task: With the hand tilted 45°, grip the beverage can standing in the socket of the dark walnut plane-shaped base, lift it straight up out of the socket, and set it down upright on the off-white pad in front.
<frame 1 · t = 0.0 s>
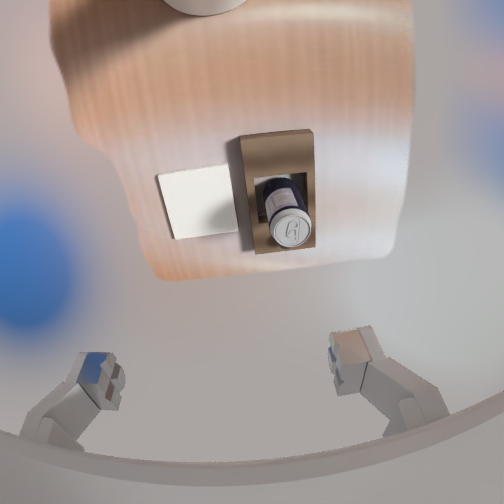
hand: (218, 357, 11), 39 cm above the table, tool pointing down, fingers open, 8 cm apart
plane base: (280, 191, 50), on the table
pad: (199, 201, 50), on the table
beverage can: (279, 190, 50), resting in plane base
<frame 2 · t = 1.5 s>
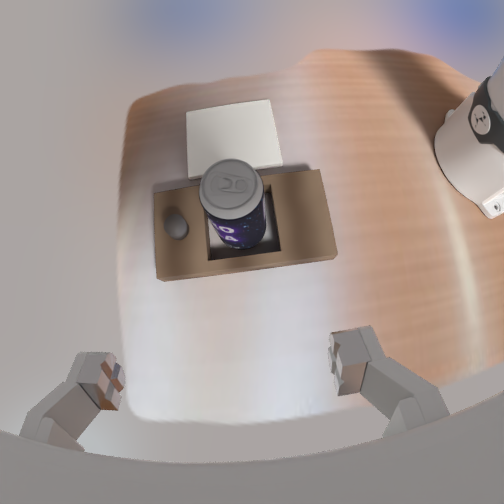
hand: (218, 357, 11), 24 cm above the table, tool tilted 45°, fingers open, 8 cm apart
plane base: (242, 228, 37), on the table
pad: (231, 137, 40), on the table
beverage can: (242, 228, 37), resting in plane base
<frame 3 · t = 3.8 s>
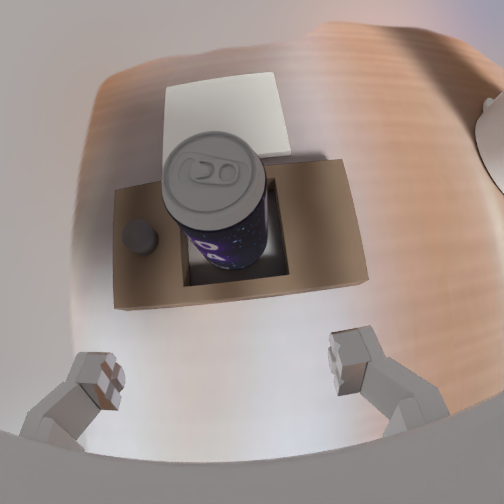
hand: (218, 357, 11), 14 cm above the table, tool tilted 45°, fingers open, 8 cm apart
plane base: (233, 239, 26), on the table
pad: (222, 118, 30), on the table
beverage can: (234, 239, 27), resting in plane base
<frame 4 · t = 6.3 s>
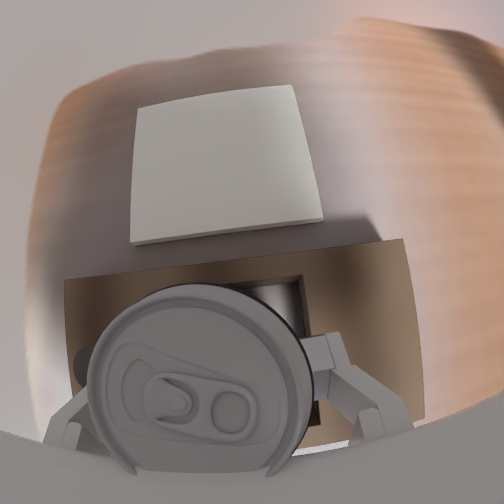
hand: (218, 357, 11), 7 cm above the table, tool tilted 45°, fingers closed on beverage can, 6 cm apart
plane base: (238, 357, 17), on the table
pad: (218, 157, 21), on the table
beverage can: (238, 357, 18), resting in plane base, touching gripper
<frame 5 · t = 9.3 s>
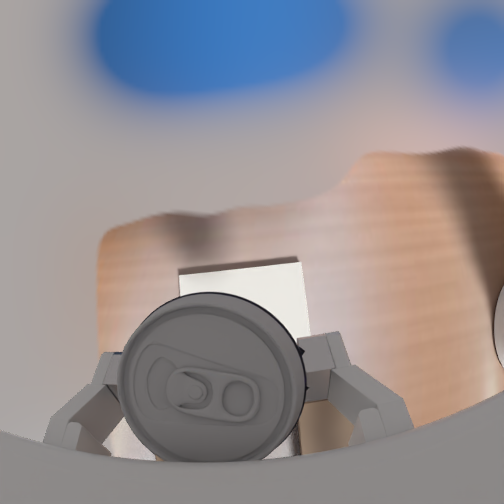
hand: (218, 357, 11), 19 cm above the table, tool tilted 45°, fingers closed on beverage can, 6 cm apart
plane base: (259, 449, 26), on the table
pad: (245, 326, 30), on the table
beverage can: (240, 353, 19), point 10 cm above the table, touching gripper
when the fingers open (9 cm above the table, at t = 12.5 s): beverage can stays where it is, resting on pad.
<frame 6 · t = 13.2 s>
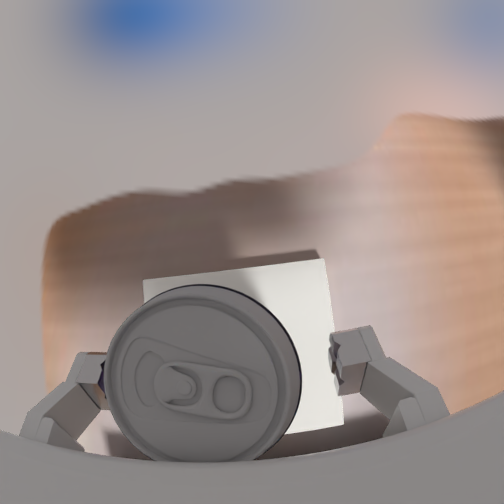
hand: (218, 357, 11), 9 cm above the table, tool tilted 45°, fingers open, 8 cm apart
pad: (241, 355, 19), on the table
beverage can: (237, 353, 19), point 1 cm above the table, touching pad
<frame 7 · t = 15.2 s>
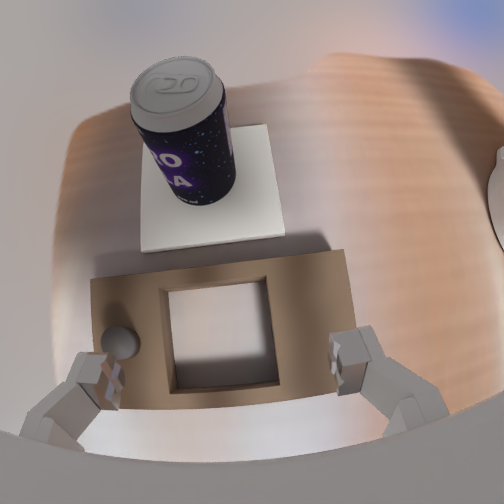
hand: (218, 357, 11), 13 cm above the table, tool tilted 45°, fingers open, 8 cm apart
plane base: (221, 336, 24), on the table
pad: (207, 185, 27), on the table
beverage can: (204, 181, 27), point 1 cm above the table, touching pad
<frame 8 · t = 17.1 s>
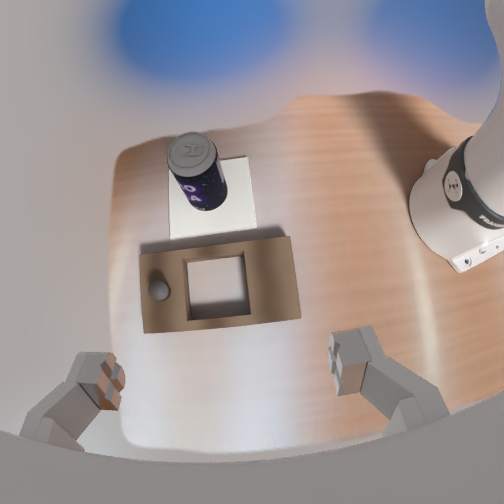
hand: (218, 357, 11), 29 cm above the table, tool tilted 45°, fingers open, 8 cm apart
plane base: (218, 288, 41), on the table
pad: (210, 198, 44), on the table
beverage can: (208, 195, 44), point 1 cm above the table, touching pad
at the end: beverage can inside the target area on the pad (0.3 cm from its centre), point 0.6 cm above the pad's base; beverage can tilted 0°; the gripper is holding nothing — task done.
